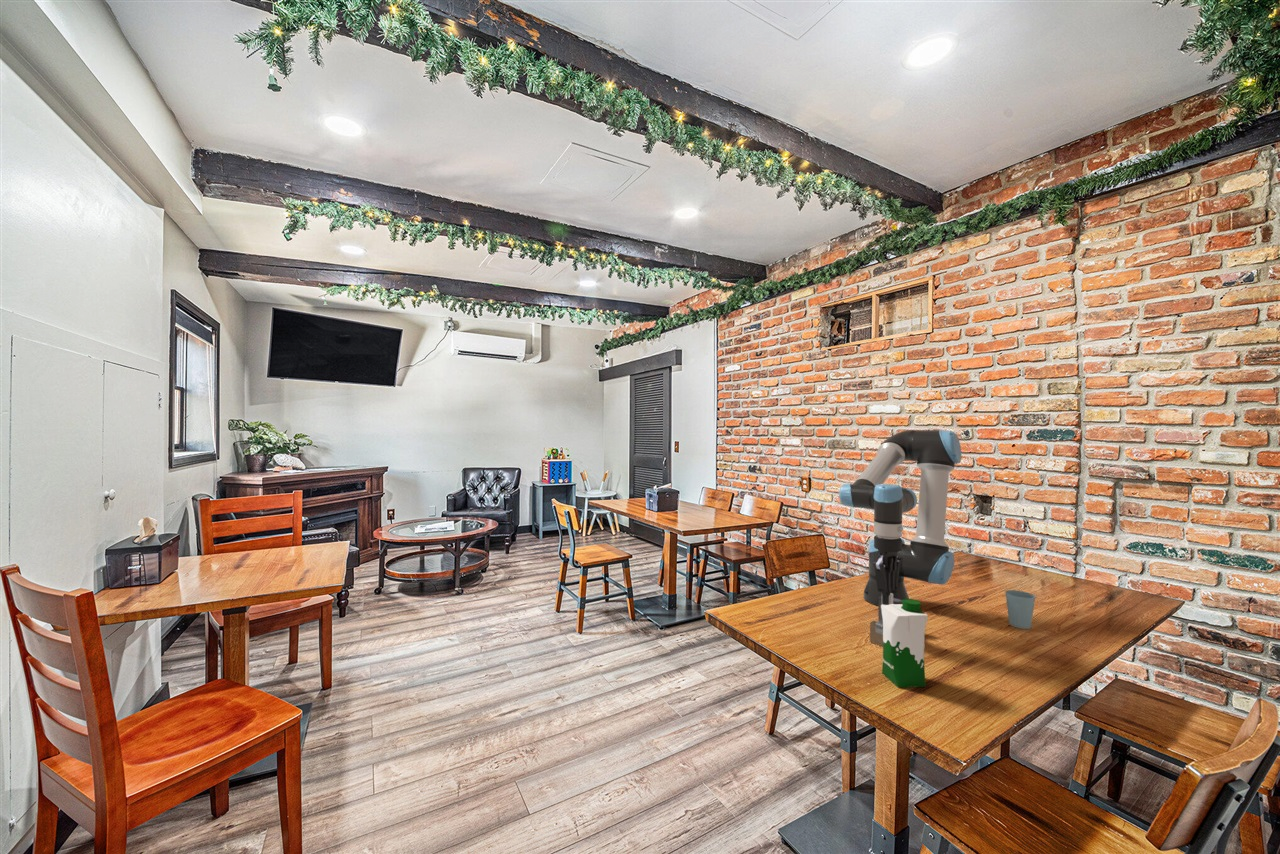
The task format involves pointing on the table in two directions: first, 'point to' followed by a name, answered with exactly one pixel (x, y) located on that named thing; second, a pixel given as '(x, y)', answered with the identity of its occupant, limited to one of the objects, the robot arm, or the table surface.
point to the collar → (895, 601)
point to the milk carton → (904, 643)
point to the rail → (876, 632)
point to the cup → (1020, 608)
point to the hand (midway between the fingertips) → (887, 614)
